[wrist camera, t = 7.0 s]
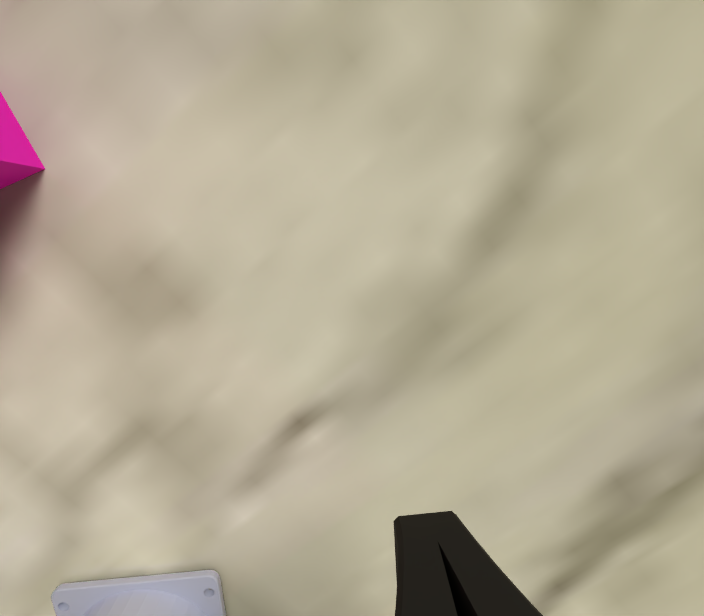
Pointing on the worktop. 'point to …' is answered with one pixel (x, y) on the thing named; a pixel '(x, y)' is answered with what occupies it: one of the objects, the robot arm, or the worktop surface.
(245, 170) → the worktop surface
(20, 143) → the toy block
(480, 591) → the robot arm
